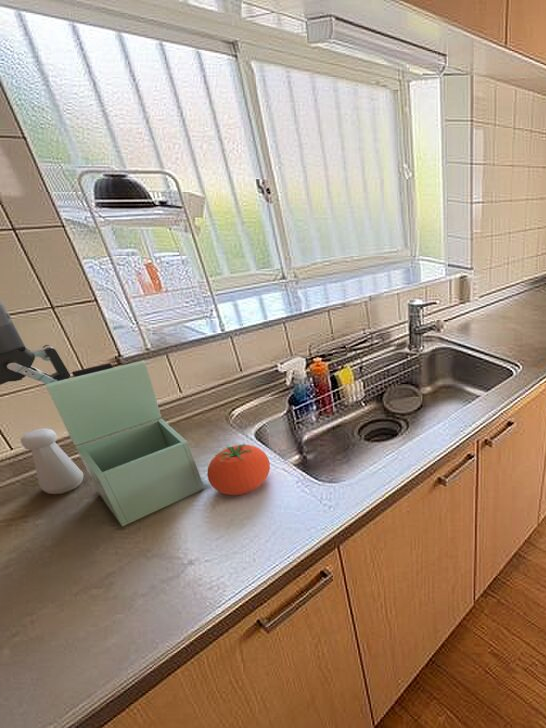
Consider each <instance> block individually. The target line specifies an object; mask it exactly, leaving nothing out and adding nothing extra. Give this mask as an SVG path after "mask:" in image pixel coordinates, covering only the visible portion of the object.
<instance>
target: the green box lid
mask: <svg viewBox="0 0 546 728" xmlns="http://www.w3.org/2000/svg"><path fill="white" fill-rule="evenodd" d="M71 374H72V376H73V377H69V378H68V379H64V380H61V381H57V382H52V383H48V384H46V383H44V385H45V387H46V390H47V391H48V394H49V395H50V397H51V400H52V402H53V404H54V406H55V408H56V410H57V413H58V414H59V416H60V419H61V420H62V423H63V425H64V427H65V429H66V431H67V434H68V436H69V438H70V440H71V441H72V443H73V445H74V446H75V447H76V446H79V445H83V444H86V443H89V442H92V441H95V440H98V439H101V438H104V437H107V436H110V435H113V434H116V433H119V432H122V431H125V430H128V429H131V428H134V427H137V426H140V425H143V424H146V423H149V422H152V421H155V420H158V419H162V415H161V412H160V407H159V404H158V401H157V398H156V394H155V391H154V387H153V384H152V380H151V377H150V373H149V371H148V367H147V363H146V361H144V360H140V361H135V362H132V363H127V364H123V365H119V366H115V367H114V366H113V365H112V363H111V362H108V363H104V364H100V365H95V366H91V367H86V368H82V369H78V370H73V371H71Z"/></svg>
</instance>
